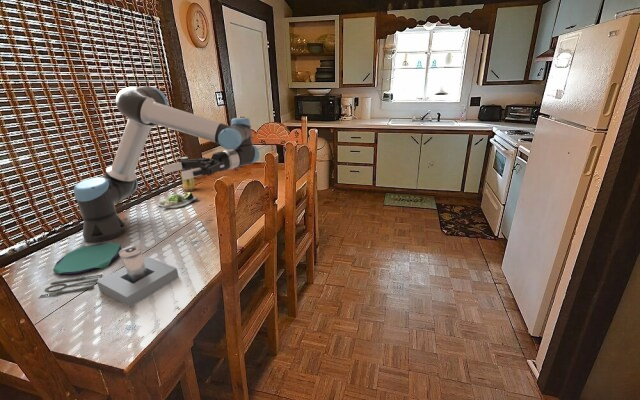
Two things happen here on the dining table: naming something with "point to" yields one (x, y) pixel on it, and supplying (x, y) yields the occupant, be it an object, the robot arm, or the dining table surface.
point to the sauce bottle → (187, 183)
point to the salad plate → (177, 200)
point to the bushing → (134, 262)
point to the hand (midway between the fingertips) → (173, 172)
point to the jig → (133, 293)
